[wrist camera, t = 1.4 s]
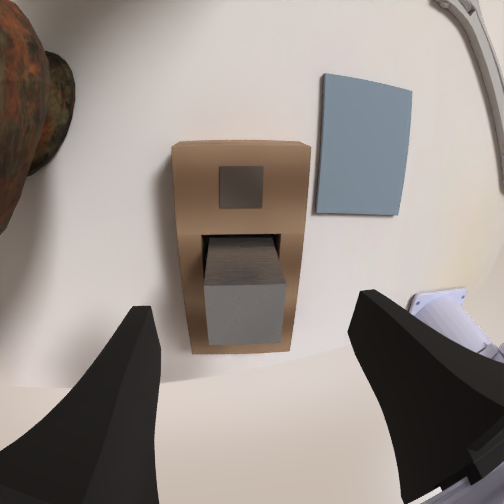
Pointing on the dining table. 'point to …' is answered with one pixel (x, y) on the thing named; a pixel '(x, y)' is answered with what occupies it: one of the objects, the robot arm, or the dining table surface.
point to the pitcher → (28, 105)
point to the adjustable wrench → (483, 59)
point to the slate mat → (362, 146)
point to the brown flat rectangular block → (239, 217)
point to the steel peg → (243, 290)
